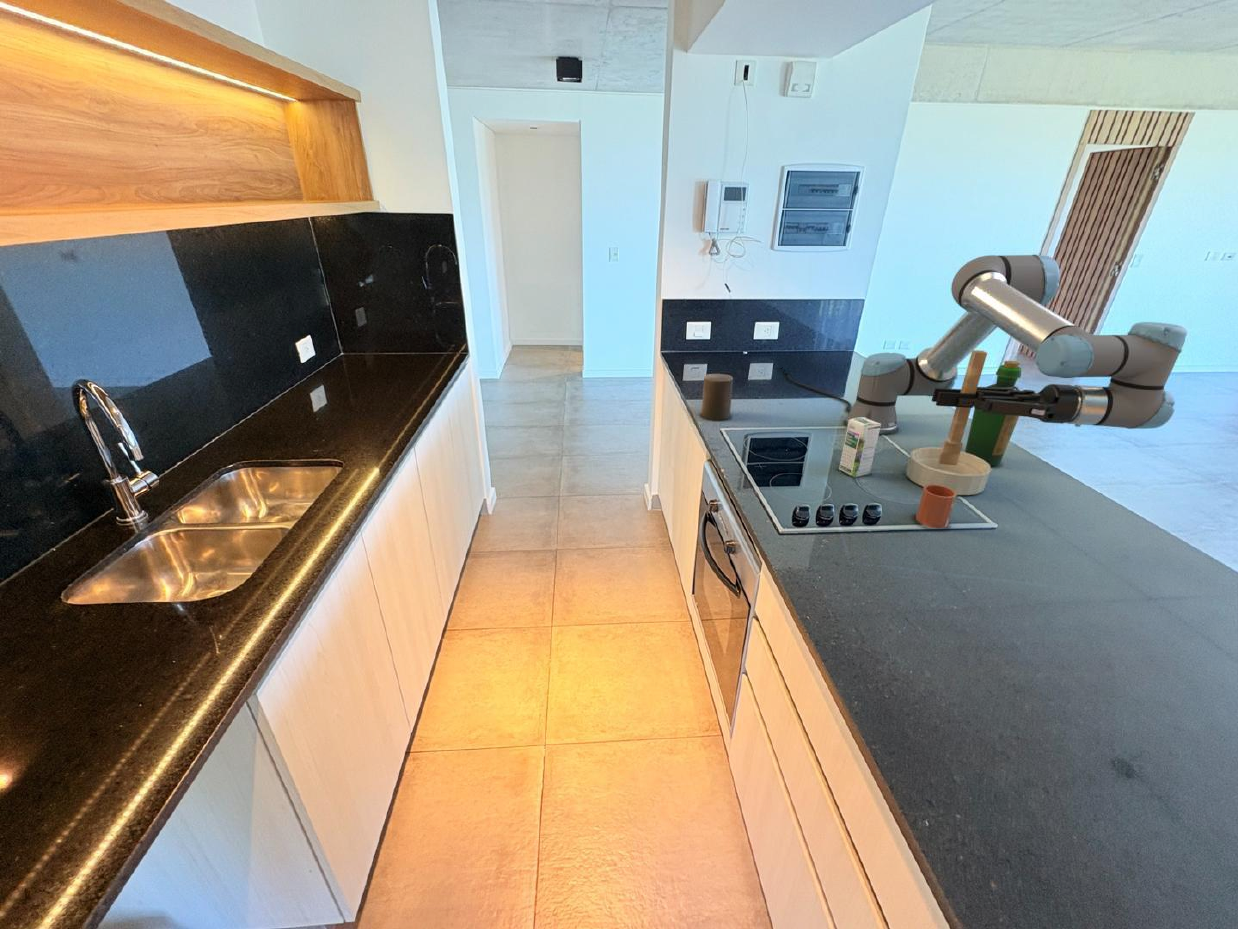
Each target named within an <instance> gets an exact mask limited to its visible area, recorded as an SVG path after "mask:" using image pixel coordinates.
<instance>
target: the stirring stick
mask: <svg viewBox="0 0 1238 929" xmlns="http://www.w3.org/2000/svg"><path fill="white" fill-rule="evenodd" d="M987 355H988V352H986V351H984V350H977V349H976V350H975V349H974V350H972V352H971V353H970V357H969V360H968V364H967V366H966V367H967V368H966V371H965V374H964V378H963V381H962V385H961V388H960V389H961V392H960V393H969V394H975V393H976V390H977V387H979V383H980V379H981V376H982V373H983V370H984V365H985V363H986V359H987V357H988V356H987ZM954 409H955V410H954V413H953V417H952V420H951V423H950V427H949V431H948V435H947V437H946V440H944V441H943V443H942V447H941V448H942V450H941V454H940V457H939V461H938V463H939V464H946V465H957V462H958V459H959V456H960V452H961V451H962V449H963V445H964V443H963V442H962V440H963V437H964V434H965V430H966V426H967V423H968V421H969V416H970V413H971V409H972V408H964V407H955V408H954Z"/></svg>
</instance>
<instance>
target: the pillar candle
mask: <svg viewBox="0 0 1238 929" xmlns="http://www.w3.org/2000/svg"><path fill="white" fill-rule="evenodd" d="M733 383H734V377H733V376H732V375H729V374H723V373H709V374H706V375H704V376H703V387H702V388H703V389H702V403H701V413H700V415H701V416H702V418H704V419H705V420H710V421H718V422H719V421H720V422H721V421H725V420H728V419H730V417H731V408H732V395H733V386H734V384H733Z"/></svg>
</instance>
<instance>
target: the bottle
mask: <svg viewBox="0 0 1238 929" xmlns="http://www.w3.org/2000/svg"><path fill="white" fill-rule="evenodd" d="M1020 364H1021V363H1020V362H1019V361H1016V360H1004V363H1003V364H1000V365H999V366H998V368H997V371H996V372H995V376H997V377H996V382H995V383H992V384H990V385H987V386H986V387H1016V384H1017V382H1018V379H1020V378H1022V367H1020ZM1018 390H1020V389H1019V388H1018ZM1019 419H1020V416H1014V415H1004V414H994V413H984V412H982V410H981V409H979V410H977V409H975V408H973V415H972V418H971V422H970V427H969V432H968V436H967V440H966V445H965V449H964V452H966V453H969V454H972V455H974V456H977V457H979V458H981V459H983V460H984V461H986V462H987V463H988V464H989V465H990V467H996V466H998V465H1000V464H1001V463H1002V460H1003V457H1004V455H1005V452H1006V450H1007V448H1008V445H1009V443H1010V441H1011V438H1012V436H1013V433H1014V430H1015V428H1016V426H1017V423H1018V421H1019Z"/></svg>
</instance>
